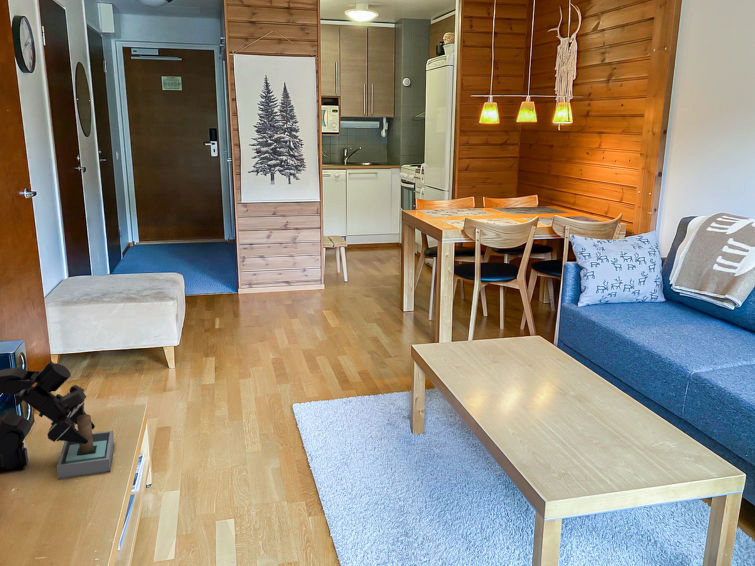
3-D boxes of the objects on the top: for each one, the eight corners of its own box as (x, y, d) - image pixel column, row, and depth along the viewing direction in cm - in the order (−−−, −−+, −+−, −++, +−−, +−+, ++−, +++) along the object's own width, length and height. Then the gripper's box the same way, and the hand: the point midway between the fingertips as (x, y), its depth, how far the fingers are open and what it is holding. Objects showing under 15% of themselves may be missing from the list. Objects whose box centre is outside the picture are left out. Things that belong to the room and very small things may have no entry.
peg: (77, 460, 178) (73, 418, 175) (86, 454, 181) (83, 413, 178) (88, 462, 177) (84, 420, 174) (97, 456, 180) (93, 415, 177)
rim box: (58, 479, 169) (56, 466, 168) (67, 448, 185) (65, 436, 184) (109, 472, 173) (108, 459, 172) (113, 442, 189) (112, 430, 188)
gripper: (56, 395, 164) (104, 429, 169) (73, 369, 181) (116, 402, 186) (26, 424, 164) (75, 458, 169) (46, 396, 181) (90, 428, 186)
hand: (90, 435), depth 177 cm, fingers open, 9 cm apart
